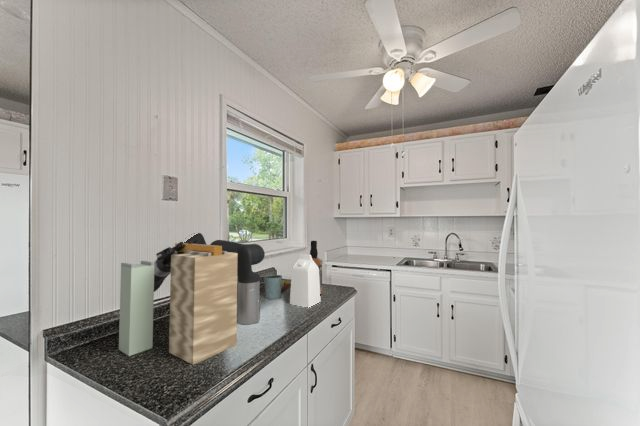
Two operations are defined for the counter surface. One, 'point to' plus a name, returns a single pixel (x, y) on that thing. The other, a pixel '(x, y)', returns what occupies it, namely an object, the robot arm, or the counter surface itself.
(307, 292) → the milk
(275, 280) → the teal cup
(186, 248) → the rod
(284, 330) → the counter surface
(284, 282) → the gavel
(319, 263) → the whiskey bottle
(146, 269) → the grooved green pillar
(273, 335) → the counter surface
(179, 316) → the stand
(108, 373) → the counter surface
